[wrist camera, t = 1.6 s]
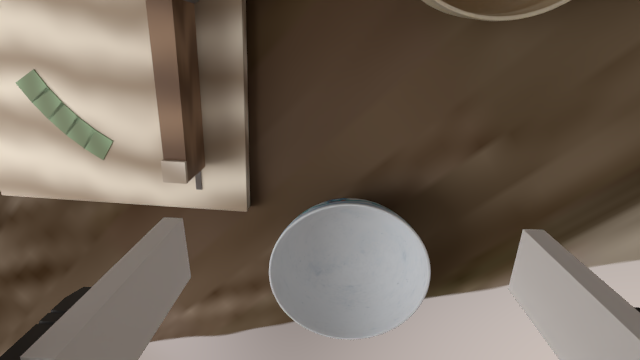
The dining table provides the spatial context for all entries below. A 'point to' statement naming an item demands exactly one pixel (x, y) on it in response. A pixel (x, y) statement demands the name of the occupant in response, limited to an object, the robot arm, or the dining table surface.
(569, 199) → the dining table surface
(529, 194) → the dining table surface
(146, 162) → the gauge board
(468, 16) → the planter bowl
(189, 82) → the gauge needle
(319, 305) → the chinaware
